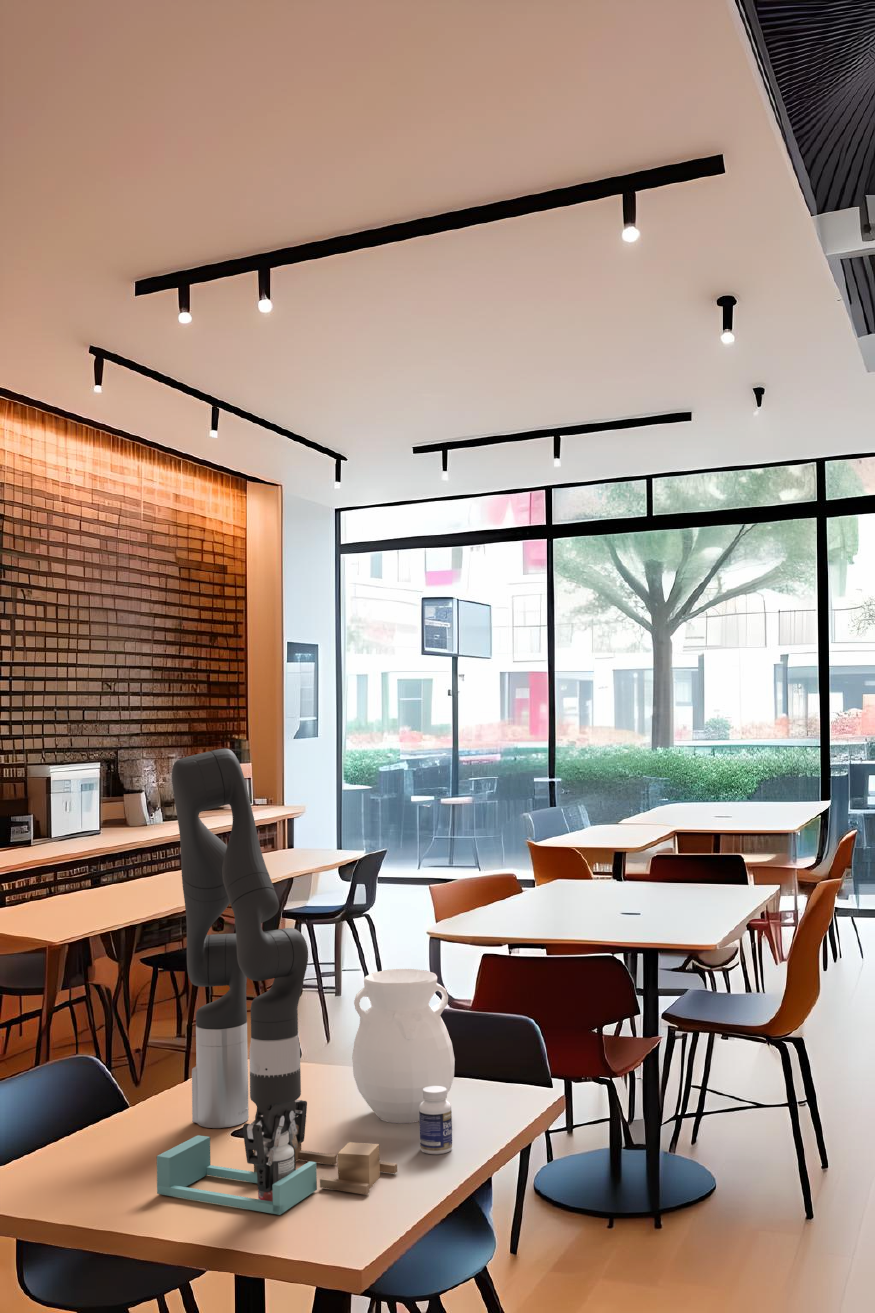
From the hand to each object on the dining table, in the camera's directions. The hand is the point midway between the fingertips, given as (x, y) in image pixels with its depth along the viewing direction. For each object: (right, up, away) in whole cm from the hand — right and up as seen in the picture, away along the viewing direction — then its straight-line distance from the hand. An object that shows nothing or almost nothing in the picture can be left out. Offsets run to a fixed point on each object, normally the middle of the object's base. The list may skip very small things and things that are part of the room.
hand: (277, 1183), depth 168 cm
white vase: (+18, -5, +38) cm, 42 cm away
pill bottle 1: (0, -3, 0) cm, 3 cm away
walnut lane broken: (+6, -3, +9) cm, 11 cm away
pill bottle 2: (+24, -4, +20) cm, 31 cm away
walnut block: (+12, -3, +6) cm, 14 cm away
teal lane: (-6, -3, +3) cm, 8 cm away
